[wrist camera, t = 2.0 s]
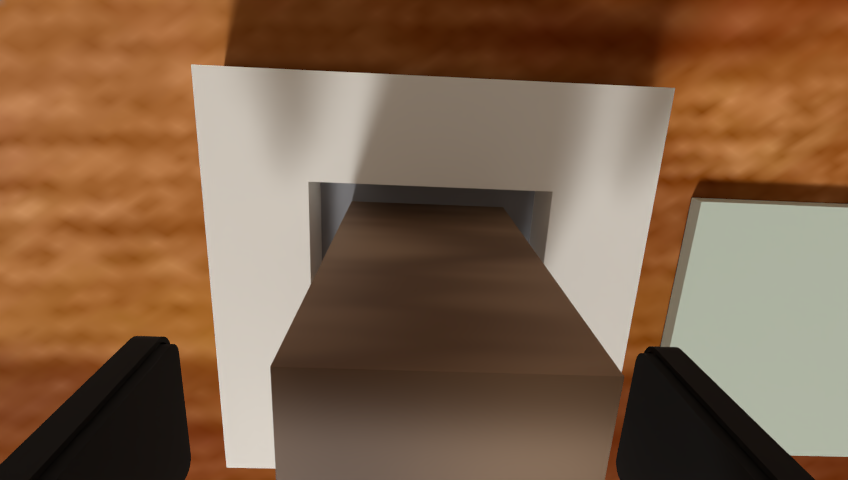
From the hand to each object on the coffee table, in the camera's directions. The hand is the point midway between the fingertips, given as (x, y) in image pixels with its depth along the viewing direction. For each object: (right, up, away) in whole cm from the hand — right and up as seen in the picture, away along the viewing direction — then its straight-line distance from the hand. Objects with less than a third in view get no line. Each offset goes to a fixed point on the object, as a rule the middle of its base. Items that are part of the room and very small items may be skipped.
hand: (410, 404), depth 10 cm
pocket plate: (0, +2, +7) cm, 8 cm away
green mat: (+14, 0, +9) cm, 17 cm away
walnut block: (0, +2, +7) cm, 7 cm away
